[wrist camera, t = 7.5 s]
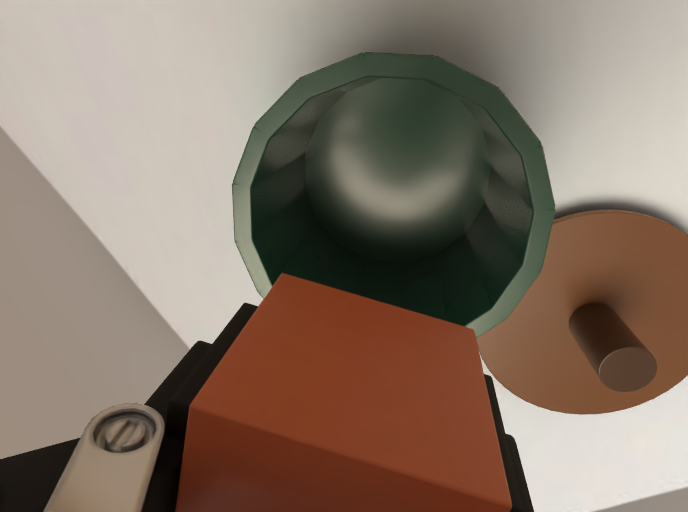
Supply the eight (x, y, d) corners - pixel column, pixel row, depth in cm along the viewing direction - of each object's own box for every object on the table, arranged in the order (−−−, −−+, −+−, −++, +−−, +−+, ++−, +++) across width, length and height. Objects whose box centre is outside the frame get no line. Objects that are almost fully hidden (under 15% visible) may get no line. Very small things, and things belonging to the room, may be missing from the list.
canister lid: (747, 216, 26) (843, 256, 20) (669, 415, 31) (727, 492, 25) (491, 197, 27) (511, 228, 22) (458, 389, 33) (467, 454, 27)
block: (475, 328, 11) (514, 506, 6) (414, 470, 13) (411, 683, 8) (281, 271, 11) (188, 404, 7) (251, 419, 13) (161, 600, 9)
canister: (520, 68, 25) (590, 61, 15) (483, 278, 29) (518, 377, 20) (295, 58, 26) (224, 46, 16) (294, 260, 31) (239, 343, 21)
